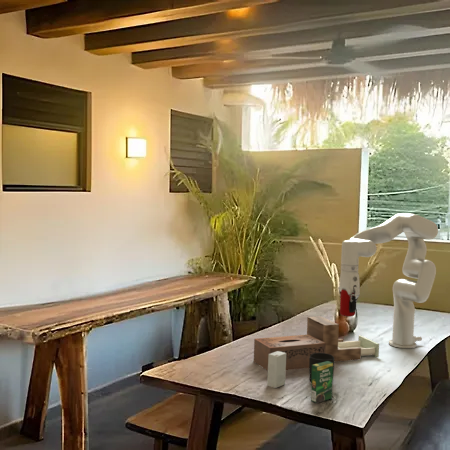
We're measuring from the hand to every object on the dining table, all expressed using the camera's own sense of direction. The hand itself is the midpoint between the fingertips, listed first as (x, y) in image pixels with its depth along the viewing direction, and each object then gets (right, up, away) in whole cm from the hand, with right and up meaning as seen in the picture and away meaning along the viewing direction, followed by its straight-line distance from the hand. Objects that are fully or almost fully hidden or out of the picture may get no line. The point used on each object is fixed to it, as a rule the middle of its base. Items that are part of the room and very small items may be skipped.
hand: (347, 308), depth 256 cm
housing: (-7, -21, -1) cm, 22 cm away
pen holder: (-18, -23, -36) cm, 47 cm away
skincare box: (-35, -23, -41) cm, 59 cm away
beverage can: (0, -3, 0) cm, 4 cm away
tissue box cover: (-28, -22, -14) cm, 38 cm away
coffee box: (-21, -24, -55) cm, 64 cm away
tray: (+3, -21, +3) cm, 21 cm away
